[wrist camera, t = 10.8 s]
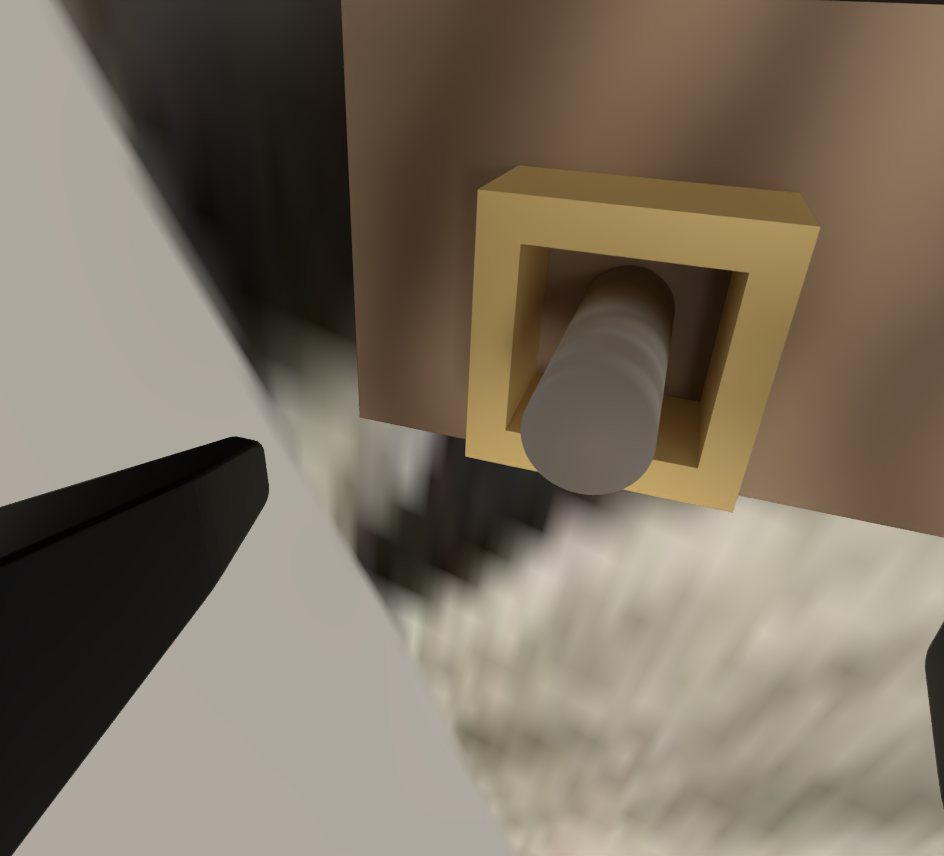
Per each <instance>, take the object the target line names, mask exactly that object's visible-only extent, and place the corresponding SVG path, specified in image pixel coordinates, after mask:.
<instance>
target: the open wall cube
mask: <svg viewBox="0 0 944 856" xmlns="http://www.w3.org/2000/svg"><path fill="white" fill-rule="evenodd" d="M819 231H820V225H819V223H818V222H817V220H816V219H815V217H814V215H813V214H812V212H811V210H810V209H809V207H808V206H807V204H806V202H805V201H804V199H803V198H802V196H801V194H800V193H795V192H785V191H774V190H764V189H754V188H744V187H734V186H724V185H713V184H703V183H693V182H683V181H673V180H662V179H652V178H642V177H632V176H622V175H612V174H601V173H591V172H581V171H571V170H561V169H550V168H540V167H530V166H520V165H518V166H517V167H515V168H513V169H512V170H510V171H508V172H507V173H505V174H503V175H502V176H500V177H498V178H496V179H495V180H493V181H491V182H490V183H488V184H486V185H485V186H483V187H481V188H480V189H478V197H477V218H476V239H475V260H474V281H473V302H472V324H471V345H470V366H469V387H468V408H467V429H466V450H465V456H466V457H471V458H475V459H480V460H485V461H490V462H494V463H499V464H504V465H509V466H514V467H518V468H523V469H528V470H533V471H537V470H536V469H535V467H534V466H533V465H532V463H531V462H530V460H529V459H528V457H527V455H526V453H525V450H524V448H523V444H522V441H521V421H522V417H523V414H524V411H525V409H526V407H527V405H528V403H529V401H530V399H531V397H532V395H533V393H534V391H535V390H536V388H537V386H538V384H539V382H540V380H541V378H542V376H543V374H538V373H537V363H538V353H539V344H540V334H541V325H542V315H543V306H544V296H545V286H546V277H547V267H548V258H549V248H558V249H566V250H573V251H581V252H589V253H597V254H605V255H613V256H621V257H629V258H636V259H644V260H652V261H660V262H668V263H676V264H684V265H691V266H699V267H707V268H715V269H723V270H731V271H733V272H732V276H731V280H730V284H729V288H728V292H727V296H726V300H725V304H724V308H723V312H722V316H721V320H720V324H719V328H718V332H717V336H716V340H715V344H714V348H713V352H712V356H711V360H710V364H709V368H708V372H707V376H706V380H705V384H704V388H703V392H702V396H701V400H700V402H699V401H693V400H687V399H682V398H676V397H670V396H665V395H663V400H662V407H661V414H660V421H659V428H658V435H657V442H656V450H655V454H654V457H653V460H652V462H651V464H650V466H649V468H648V469H647V471H646V472H645V473H644V474H643V475H642V476H641V478H640V479H638V480H637V481H636V482H635V483H633V484H632V485H630V486H628V487H627V488H624V489H623V490H628V491H632V492H637V493H642V494H647V495H652V496H656V497H661V498H666V499H671V500H675V501H680V502H685V503H690V504H694V505H699V506H704V507H709V508H713V509H718V510H723V511H728V512H732V513H733V510H734V507H735V504H736V500H737V497H738V494H739V491H740V487H741V484H742V481H743V478H744V474H745V471H746V468H747V465H748V461H749V458H750V455H751V452H752V448H753V445H754V442H755V439H756V435H757V432H758V429H759V426H760V422H761V419H762V416H763V413H764V409H765V406H766V403H767V400H768V396H769V393H770V390H771V387H772V383H773V380H774V377H775V374H776V370H777V367H778V364H779V361H780V357H781V354H782V351H783V348H784V344H785V341H786V338H787V335H788V331H789V328H790V325H791V322H792V318H793V315H794V312H795V309H796V305H797V302H798V299H799V296H800V292H801V289H802V286H803V283H804V279H805V276H806V273H807V270H808V266H809V263H810V260H811V257H812V253H813V250H814V247H815V244H816V240H817V237H818V234H819ZM537 472H538V471H537Z"/></svg>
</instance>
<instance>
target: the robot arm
mask: <svg viewBox="0 0 944 856" xmlns="http://www.w3.org/2000/svg"><path fill="white" fill-rule="evenodd" d="M268 494H269V483H268V476H267V468H266V462H265V454H264V449H263V447H262V445H261V444H260V443H259V442H258V441H255V440H250V439H246V438H241V437H229V438H226V439H222V440H219V441H216V442H213V443H209V444H206V445H203V446H200V447H196V448H193V449H190V450H186V451H183V452H180V453H177V454H173V455H170V456H166V457H163V458H160V459H157V460H153V461H150V462H147V463H144V464H140V465H137V466H134V467H130V468H127V469H124V470H121V471H117V472H114V473H111V474H107V475H104V476H101V477H97V478H94V479H91V480H88V481H85V482H81V483H78V484H74V485H71V486H68V487H65V488H61V489H58V490H55V491H51V492H48V493H45V494H41V495H38V496H35V497H32V498H28V499H25V500H22V501H18V502H15V503H12V504H9V505H6V506H2V507H0V856H12V855H13V853H14V852H15V851H16V849H17V848H18V846H19V845H20V844H21V843H22V841H23V840H24V839H25V837H26V836H27V835H28V833H29V832H30V831H31V829H32V828H33V827H34V826H35V824H36V823H37V822H38V820H39V819H40V818H41V816H42V815H43V814H44V812H45V811H46V810H47V808H48V807H49V806H50V804H51V803H52V802H53V800H54V799H55V798H56V796H57V795H58V794H59V792H60V791H61V790H62V788H63V787H64V786H65V785H66V783H67V782H68V781H69V779H70V778H71V777H72V775H73V774H74V773H75V771H76V770H77V769H78V767H79V766H80V765H81V763H82V762H83V761H84V759H85V758H86V757H87V755H88V754H89V753H90V752H91V750H92V749H93V748H94V746H95V745H96V744H97V742H98V741H99V740H100V738H101V737H102V736H103V734H104V733H105V732H106V730H107V729H108V728H109V726H110V725H111V724H112V722H113V721H114V720H115V718H116V717H117V716H118V715H119V713H120V712H121V711H122V709H123V708H124V707H125V705H126V704H127V703H128V701H129V700H130V699H131V697H132V696H133V695H134V693H135V692H136V690H137V689H138V688H139V687H140V685H141V684H142V683H143V681H144V680H145V679H146V678H147V676H148V675H149V674H150V672H151V671H152V670H153V668H154V667H155V665H156V664H157V663H158V662H159V660H160V659H161V658H162V656H163V655H164V654H165V652H166V651H167V650H168V648H169V647H170V646H171V644H172V643H173V642H174V641H175V639H176V638H177V637H178V635H179V634H180V633H181V631H182V630H183V629H184V627H185V626H186V625H187V623H188V622H189V621H190V619H191V618H192V617H193V615H194V614H195V613H196V611H197V610H198V609H199V607H200V606H201V605H202V604H203V602H204V601H205V600H206V598H207V597H208V595H209V594H210V593H211V591H212V590H213V588H214V587H215V585H216V584H217V582H218V581H219V579H220V577H221V576H222V575H223V573H224V572H225V570H226V568H227V566H228V565H229V563H230V562H231V560H232V558H233V557H234V555H235V553H236V552H237V550H238V548H239V547H240V545H241V543H242V542H243V540H244V539H245V537H246V535H247V534H248V532H249V530H250V529H251V527H252V525H253V524H254V522H255V520H256V519H257V517H258V515H259V514H260V512H261V510H262V509H263V507H264V505H265V503H266V501H267V498H268ZM925 672H926V681H927V689H928V697H929V706H930V714H931V722H932V731H933V739H934V748H935V756H936V764H937V773H938V779H939V786H940V793H941V798H942V803H943V807H944V622H943V624H942V625H941V627H940V629H939V631H938V632H937V634H936V636H935V637H934V639H933V641H932V643H931V644H930V646H929V648H928V651H927V654H926V659H925Z"/></svg>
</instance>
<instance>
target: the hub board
mask: <svg viewBox="0 0 944 856" xmlns="http://www.w3.org/2000/svg"><path fill="white" fill-rule="evenodd" d="M341 10H342V32H343V54H344V77H345V99H346V121H347V143H348V166H349V188H350V210H351V232H352V255H353V277H354V299H355V322H356V344H357V366H358V388H359V411H360V417H361V418H366V419H371V420H375V421H380V422H385V423H390V424H395V425H400V426H405V427H409V428H414V429H419V430H424V431H429V432H434V433H439V434H443V435H448V436H453V437H458V438H463V439H466V429H467V408H468V387H469V366H470V345H471V324H472V302H473V281H474V260H475V239H476V218H477V197H478V189H480V188H481V187H483V186H485V185H486V184H488V183H490V182H491V181H493V180H495V179H496V178H498V177H500V176H502V175H503V174H505V173H507V172H508V171H510V170H512V169H513V168H515V167H517V166H518V165H520V166H530V167H540V168H550V169H561V170H571V171H581V172H591V173H601V174H612V175H622V176H632V177H642V178H652V179H662V180H673V181H683V182H693V183H703V184H713V185H724V186H734V187H744V188H754V189H764V190H774V191H785V192H795V193H800V194H801V196H802V198H803V199H804V201H805V202H806V204H807V206H808V207H809V209H810V210H811V212H812V214H813V215H814V217H815V219H816V220H817V222H818V223H819V225H820V231H819V234H818V237H817V240H816V244H815V247H814V250H813V253H812V257H811V260H810V263H809V266H808V270H807V273H806V276H805V279H804V283H803V286H802V289H801V292H800V296H799V299H798V302H797V305H796V309H795V312H794V315H793V318H792V322H791V325H790V328H789V331H788V335H787V338H786V341H785V344H784V348H783V351H782V354H781V357H780V361H779V364H778V367H777V370H776V374H775V377H774V380H773V383H772V387H771V390H770V393H769V396H768V400H767V403H766V406H765V409H764V413H763V416H762V419H761V422H760V426H759V429H758V432H757V435H756V439H755V442H754V445H753V448H752V452H751V455H750V458H749V461H748V465H747V468H746V471H745V474H744V478H743V481H742V484H741V487H740V491H739V494H738V495H740V496H745V497H750V498H755V499H759V500H764V501H769V502H774V503H779V504H784V505H789V506H793V507H798V508H803V509H808V510H813V511H818V512H823V513H827V514H832V515H837V516H842V517H847V518H852V519H857V520H861V521H866V522H871V523H876V524H881V525H886V526H891V527H895V528H900V529H905V530H910V531H915V532H920V533H925V534H930V535H934V536H939V537H944V5H935V4H907V3H879V2H851V1H824V0H341ZM732 272H733V271H731V270H723V269H715V268H707V267H699V266H691V265H684V264H676V263H668V262H660V261H652V260H644V259H636V258H629V257H621V256H613V255H605V254H597V253H589V252H581V251H573V250H566V249H558V248H549V258H548V267H547V277H546V286H545V296H544V306H543V315H542V325H541V334H540V344H539V353H538V363H537V373H538V374H543V376H542V378H541V380H540V382H539V384H538V386H537V388H536V390H535V391H534V393H533V395H532V397H531V399H530V401H529V403H528V405H527V407H526V409H525V411H524V414H523V417H522V421H521V441H522V444H523V448H524V450H525V453H526V455H527V457H528V459H529V460H530V462H531V463H532V465H533V466H534V467H535V469H536V470H537V471H538V472H539V473H540V474H541V475H542V476H544V477H545V478H546V479H547V480H549V481H550V482H552V483H553V484H555V485H557V486H559V487H561V488H563V489H566V490H568V491H572V492H575V493H580V494H586V495H603V494H609V493H613V492H617V491H620V490H622V489H624V488H627V487H628V486H630V485H632V484H633V483H635V482H636V481H637V480H638V479H640V478H641V476H642V475H643V474H644V473H645V472H646V471H647V469H648V468H649V466H650V464H651V462H652V460H653V457H654V454H655V450H656V442H657V435H658V428H659V421H660V414H661V407H662V400H663V395H665V396H670V397H676V398H682V399H687V400H693V401H699V402H700V400H701V396H702V392H703V388H704V384H705V380H706V376H707V372H708V368H709V364H710V360H711V356H712V352H713V348H714V344H715V340H716V336H717V332H718V328H719V324H720V320H721V316H722V312H723V308H724V304H725V300H726V296H727V292H728V288H729V284H730V280H731V276H732Z"/></svg>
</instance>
